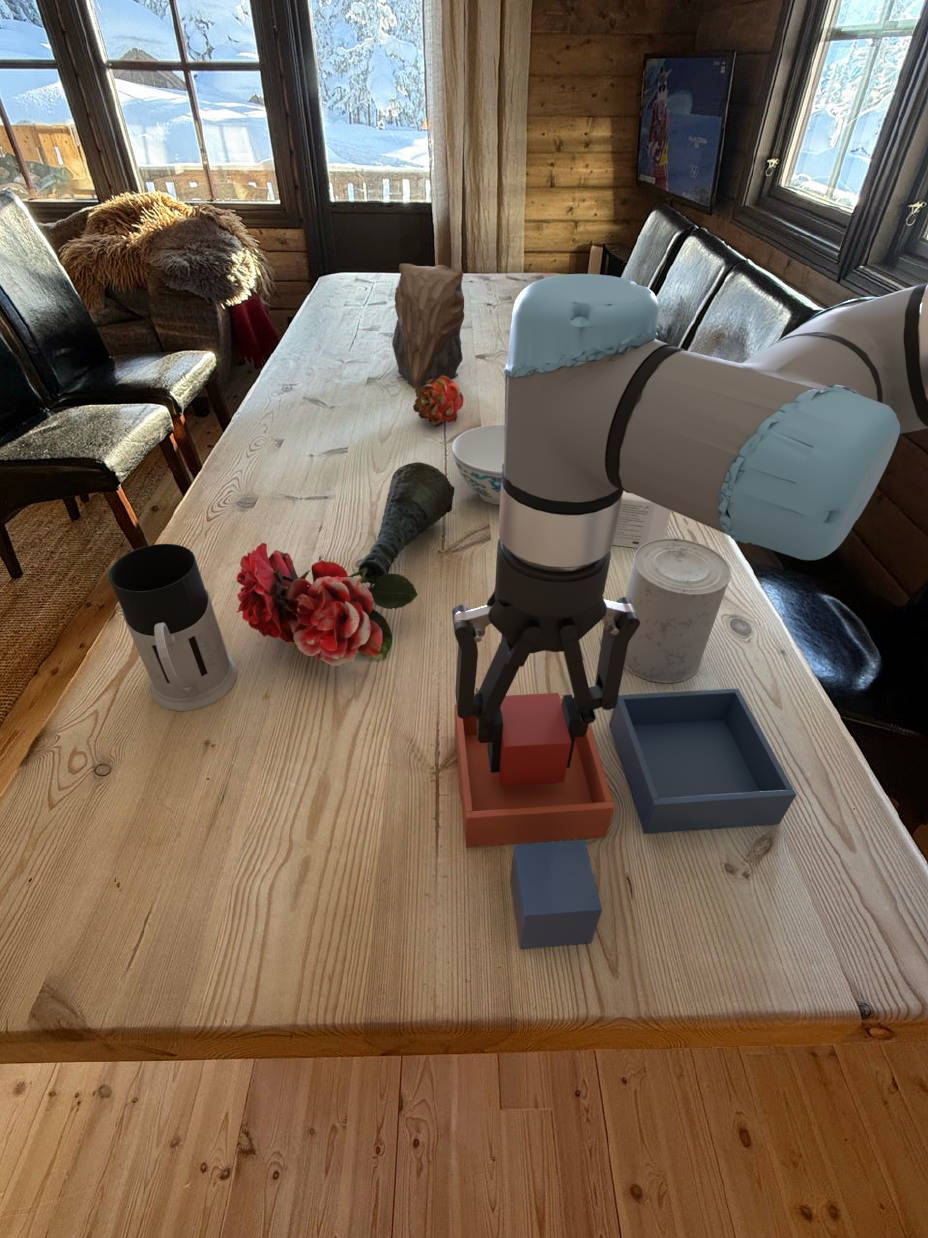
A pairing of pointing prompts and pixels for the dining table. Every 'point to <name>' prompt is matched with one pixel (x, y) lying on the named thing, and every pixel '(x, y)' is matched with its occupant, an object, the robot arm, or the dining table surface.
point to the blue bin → (698, 761)
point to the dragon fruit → (438, 400)
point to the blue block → (554, 894)
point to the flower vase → (345, 579)
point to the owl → (428, 323)
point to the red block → (533, 740)
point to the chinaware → (481, 460)
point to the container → (640, 521)
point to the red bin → (530, 796)
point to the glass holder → (173, 626)
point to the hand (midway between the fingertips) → (528, 757)
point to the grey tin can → (673, 607)
